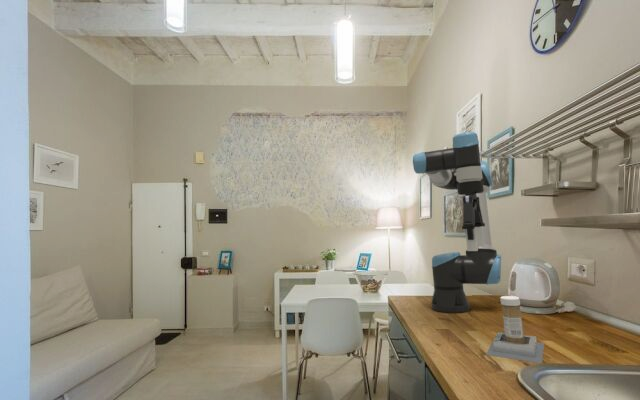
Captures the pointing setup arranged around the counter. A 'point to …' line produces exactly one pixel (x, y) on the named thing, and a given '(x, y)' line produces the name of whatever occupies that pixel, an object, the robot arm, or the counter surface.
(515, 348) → the metal collar
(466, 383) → the counter surface
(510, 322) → the sprinkles bottle
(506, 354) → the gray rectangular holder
